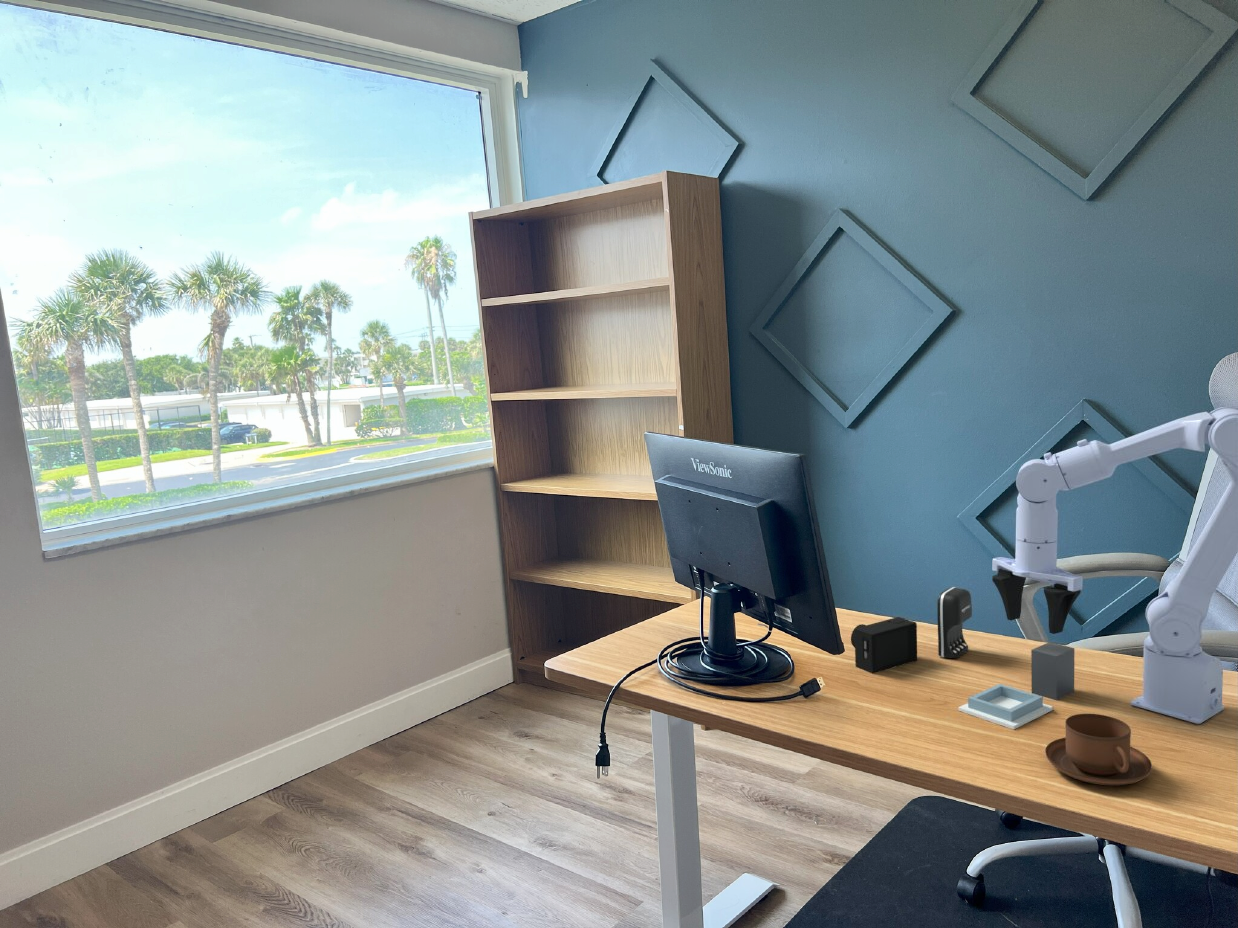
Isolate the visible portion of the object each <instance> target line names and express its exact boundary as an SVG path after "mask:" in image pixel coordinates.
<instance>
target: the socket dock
mask: <svg viewBox="0 0 1238 928" xmlns="http://www.w3.org/2000/svg"><path fill="white" fill-rule="evenodd" d="M957 710H958V711H959V712H961V713H965V714H968V715H970V716H973V717H977V718H978V719H979V718H980V719H981V720H985V721H988V722H991V723H993V724H997V725H1000V726H1003V727H1004V728H1005V727H1006V728H1008V729H1011V730H1015V729H1017V728H1019V727H1022V726H1024V725H1026V724H1028V723H1029V722H1031V721H1033V720H1035V719H1038V718H1039V717H1042V716H1043V715H1045V714H1047V713H1049V712H1052V711H1054V706H1053V705H1049V704H1047V703H1044V697H1043V696H1039V695H1036V694H1033V693H1032V692H1029V691H1025V690H1023V689H1019V688H1014V687H1012V686H1009V685H1005V684H1002V683H998V684H995V685H994V686H992V687H990V688H987V689H985V690H982V691H981V692H978V693H976V694H974V695H971V696H969V697H967V703H965V704H963V705H960V706H958V709H957Z"/></svg>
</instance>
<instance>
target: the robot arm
mask: <svg viewBox="0 0 1238 928" xmlns="http://www.w3.org/2000/svg"><path fill="white" fill-rule="evenodd" d="M1076 444H1077V445H1076V446H1074V447H1071V448H1068V449H1066V450H1062V451H1059V452H1057V453H1054V454H1052V452H1046V453H1044V454H1043V459H1040V458H1035V459H1030V460H1028V461H1026V462H1024V463H1023V464H1022V465H1021V467H1020V468H1019V470H1018V473H1017V475H1016V480H1015V485H1016V489H1017V491H1018V495H1017V497H1016V498H1017V499H1016V502H1017V503H1016V504H1017V508H1016V512H1015V515H1016V517H1015V554H1014V555H1015V558H1009V557H1008V558H1007V557H1003V556H1000V557H994V558H992V566H991V567H992V568H991V569H992V572H993V571H994V572H997V574H994V575H992V579H991V580H992V583H993V584H994V585H995V587H996V590H997V591H998V593H999V596H1001V600H1002V604H1003V607H1004V609H1005V615H1006V620H1008V621H1013V620H1019V619H1020V618H1021V615H1022V614H1021V613H1022V600H1023V599H1022V598H1023V591H1024V588H1025V583H1026V581H1027V580H1026V579H1029V580H1033V581H1038V582H1041V583H1045V584H1050V585H1053V586H1052V587H1047V588H1044V589H1043V593H1044V596H1045V600H1046V605H1047V611H1048V630H1049V633H1050V634H1052V635H1056V634H1060V633H1063V631H1064V627H1065V623H1066V621H1067V618H1068V615H1069V613H1070V610H1071V608H1072V607H1073V606H1074V605H1073V604H1074V603H1075V601H1076V600H1077V598H1078V597H1079V596H1080V594H1081V592H1082V590H1083V585H1084V584H1083V581H1084V578H1083V576H1081V575H1078V574H1076V573H1071V572H1069V571H1067V570H1064V569H1062V568H1060V567H1058V566H1057V564H1058V563H1057V561H1058V560H1057V558H1058V555H1057V553H1058V523H1059V522H1058V520H1059V519H1058V518H1059V516H1058V515H1059V511H1058V509H1057V494H1058V492H1059V491H1066V492H1069V491H1071V490H1073V489H1076V488H1077V489H1078V488H1080V487H1083V486H1086V485H1089V484H1092V483H1095V482H1099V481H1102V480H1104V479H1108V478H1111V477H1112V476H1113V474H1114V473H1115V470H1116V469H1117V467H1118V466H1120V465H1122V464H1126V463H1129V462H1133V461H1136V460H1140V459H1143V458H1147V457H1151V456H1153V455H1154V456H1155V455H1157V454H1161V453H1164V452H1167V451H1172V450H1174V449H1185V450H1189V451H1191V450H1192V451H1196V452H1202V453H1205V452H1206V446H1205V445H1208V447H1209V448H1211V450H1213V452H1215V454H1216V455H1217V456H1218V457H1219V458H1220V459H1221V462H1222V465H1223V467H1224V468H1225V471H1226V473H1227V474H1228V478H1229V479H1230V482H1229V484H1228V486H1227V488H1226V489H1225V491H1224V492H1223V494H1222V497H1221V498H1220V500H1219V501H1218V503H1217V504H1216V505H1215V506H1216V507H1215V508H1214V510H1213V512H1212V514H1211V516H1210V517H1209V519H1208V521H1207V523H1206V524H1205V526H1204V528H1203V530H1202V531H1201V532H1200V534H1199V537H1198V538H1197V540H1196V542H1195V543H1194V545H1193V547H1192V549H1191V550H1190V552H1189V554H1188V556H1187V557H1186V560H1185V561H1184V563H1183V565H1182V567H1181V568H1180V570H1179V571H1178V573H1177V575H1176V577H1175V578H1174V579H1172V580H1171V581H1170V582H1169V583H1168V584H1167V586H1166V587H1165V589H1164V591H1163V592H1162V593H1161V594H1160V595H1158V596H1155V598H1153V599H1152V600H1150V602H1149V603H1148V604H1147V606H1146V608H1145V618H1146V622H1147V623H1148V626H1149V635H1148V636H1147V637H1146V638H1145V639H1144V640H1143V659H1142V660H1143V663H1142V665H1143V666H1142V667H1143V670H1142V695H1140V696H1138V697H1136V698H1134V699H1132V700H1131V701H1130V705H1131V706H1134V707H1138V708H1141V709H1145V710H1149V711H1151V712H1154V713H1158V714H1162V715H1166V716H1169V717H1172V718H1177V719H1179V720H1182V721H1183V720H1184V721H1186V722H1190V723H1194V724H1196V725H1197V724H1198V725H1199V724H1202V723H1203V722H1205V721H1207V720H1209V719H1210V718H1212V717H1213V716H1215V715H1217V714H1218V713H1220V712H1221V711H1223V710H1224V709H1225V706H1224V704H1223V681H1224V680H1223V679H1224V677H1223V676H1224V675H1223V674H1224V668H1223V663H1222V661H1221V659H1220V658H1219V657H1216V656H1213V655H1210V654H1208V653H1206V652H1205V651H1204V650H1203V648H1202V644H1201V642H1202V638H1203V629H1202V628H1203V627H1202V626H1203V624H1204V621H1205V619H1206V618H1207V616H1208V613H1209V608H1210V604H1211V600H1212V597H1213V595H1214V593H1215V592H1216V590H1217V588H1218V586H1219V585H1220V584H1221V581H1222V580H1223V578H1224V577H1225V575H1226V573H1227V571H1228V570H1229V568H1230V566H1231V564H1232V562H1233V561H1234V559H1235V558H1236V556H1237V554H1238V407H1235V406H1223V407H1218V408H1215V409H1214V410H1212V411H1210V412H1207V411H1203V412H1198V413H1194V414H1190V415H1187V416H1184V417H1181V418H1177V419H1174V420H1172V421H1169V422H1166V423H1163V424H1160V425H1159V426H1155V427H1152V428H1150V429H1148V430H1145V431H1142V432H1140V433H1136V434H1134V435H1131V436H1129V437H1126V438H1123V439H1121V440H1117V441H1116V442H1113V443H1110V444H1109V443H1105V442H1103V441H1100V440H1096V439H1095V440H1092V441H1088V440H1087V439H1086V438H1085V439H1082V440H1078V441H1077V442H1076Z"/></svg>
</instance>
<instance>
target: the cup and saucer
mask: <svg viewBox="0 0 1238 928" xmlns="http://www.w3.org/2000/svg"><path fill="white" fill-rule="evenodd" d="M1064 723H1065V725H1064V726H1065V737H1062V738H1057V739H1055V740H1052V741H1051V742H1049V743H1048V744H1047V746H1046V747H1045V748H1044V749H1045V755H1046V759H1047V761H1049V763H1050V764H1051V766H1053V767H1054V768H1055V769H1056V770H1058V771H1059V772H1061V773H1062V774H1064V775H1066V776H1069V777H1070V778H1073V779H1076V780H1078V781H1082V782H1084V783H1085V782H1086V783H1089V784H1096V785H1102V786H1103V785H1104V786H1125V785H1130V784H1135V783H1137V782H1139V781H1142V780H1144V779H1146V777H1148V776H1149V775H1150V773H1151V772H1152V768H1153V767H1152V765H1153V764H1152V761H1151V760H1150V759H1149V757H1148V756H1147V755H1146V754H1145V753H1143V752H1142V751H1140V750H1139V749H1138V748H1136V747H1133V746H1131V739H1132V738H1131V735H1132V734H1131V733H1132V731H1131V727H1130V726H1129V724H1128V723H1126V722H1125V721H1123V720H1120V719H1119V718H1115V717H1112V716H1109V715H1105V714H1097V713H1079V714H1073V715H1070V716H1068V717H1067V718H1066V719H1065V722H1064Z"/></svg>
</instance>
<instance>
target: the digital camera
mask: <svg viewBox="0 0 1238 928" xmlns="http://www.w3.org/2000/svg"><path fill="white" fill-rule="evenodd" d="M850 643H851V645H852V647H853V648H854V657H855V658H854V660H855V663H854V664H855V668H857V669H860V670H862V671H865V672H867V673H870V674H872V675H874V674H877V673H880V672H884V671H887V670H890V669H894V668H897V667H900V666H904V665H908V664H909V663H913V662H917V661H918V625H917V622H915V621H913V620H910V619H907V618H904V617H901V616H897V617H893V618H892V617H891V618H889V619H885V620H882V621H877V622H873V623H870V624H867V625H866V624H864V623H863V624H858V625H856V626H855V627H854V629H853V630H852V631H851V635H850Z"/></svg>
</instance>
